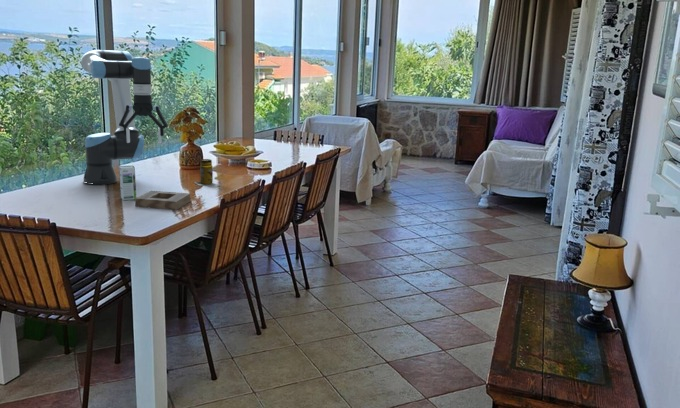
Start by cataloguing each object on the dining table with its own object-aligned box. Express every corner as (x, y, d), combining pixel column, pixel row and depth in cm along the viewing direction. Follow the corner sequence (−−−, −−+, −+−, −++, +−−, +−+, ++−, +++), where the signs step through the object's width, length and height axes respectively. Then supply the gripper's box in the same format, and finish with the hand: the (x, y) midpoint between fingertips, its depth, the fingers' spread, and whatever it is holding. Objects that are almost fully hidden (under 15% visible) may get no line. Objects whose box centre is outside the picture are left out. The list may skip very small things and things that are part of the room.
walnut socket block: (135, 206, 248) (135, 198, 247) (151, 198, 262) (151, 190, 261) (176, 209, 245) (176, 201, 245) (190, 201, 260) (190, 193, 259)
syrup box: (122, 200, 256) (121, 167, 253) (120, 197, 261) (119, 165, 258) (136, 199, 259) (135, 167, 255) (134, 196, 264) (132, 164, 260)
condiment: (215, 184, 294) (215, 160, 291) (199, 185, 290) (198, 161, 287) (210, 181, 300) (209, 158, 297) (193, 182, 296) (193, 159, 293)
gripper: (110, 93, 251) (112, 143, 256) (170, 95, 254) (171, 145, 259) (114, 92, 258) (117, 140, 264) (173, 94, 261) (174, 142, 266)
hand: (144, 143), depth 261 cm, fingers open, 13 cm apart
